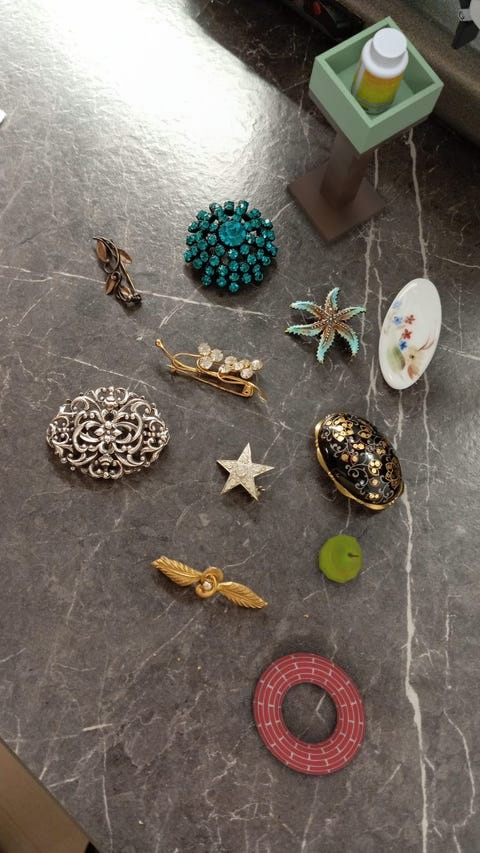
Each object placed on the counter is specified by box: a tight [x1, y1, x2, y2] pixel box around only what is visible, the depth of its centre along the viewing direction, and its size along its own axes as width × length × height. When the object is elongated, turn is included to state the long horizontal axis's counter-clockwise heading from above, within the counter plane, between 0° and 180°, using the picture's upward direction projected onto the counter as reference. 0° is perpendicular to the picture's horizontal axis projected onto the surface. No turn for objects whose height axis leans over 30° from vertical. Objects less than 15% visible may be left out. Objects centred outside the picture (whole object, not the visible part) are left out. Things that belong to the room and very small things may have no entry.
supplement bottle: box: [351, 28, 408, 113], centre depth 108 cm, size 6×6×10 cm
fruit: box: [318, 533, 364, 584], centre depth 119 cm, size 6×6×12 cm
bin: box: [308, 16, 445, 154], centre depth 111 cm, size 11×11×6 cm
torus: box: [252, 652, 367, 776], centre depth 118 cm, size 16×14×4 cm
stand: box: [285, 88, 430, 246], centre depth 126 cm, size 11×11×26 cm
